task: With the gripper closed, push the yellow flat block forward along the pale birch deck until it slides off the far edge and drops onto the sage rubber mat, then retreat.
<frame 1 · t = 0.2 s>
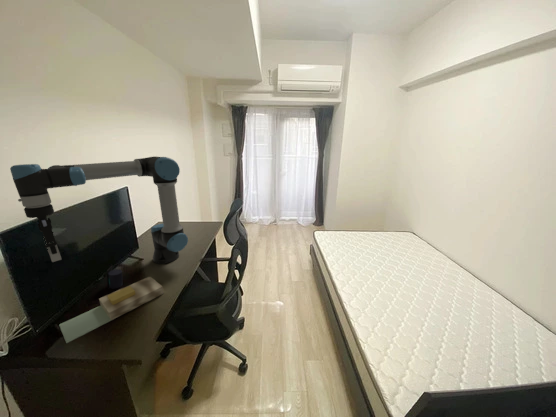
hand: (54, 255, 90), 28 cm above the table, fingers open, 13 cm apart
deck: (133, 299, 105), on the table
yellow flat block: (122, 296, 100), point 4 cm above the table, touching deck
speaker: (117, 285, 115), on the table
mat: (85, 322, 91), on the table
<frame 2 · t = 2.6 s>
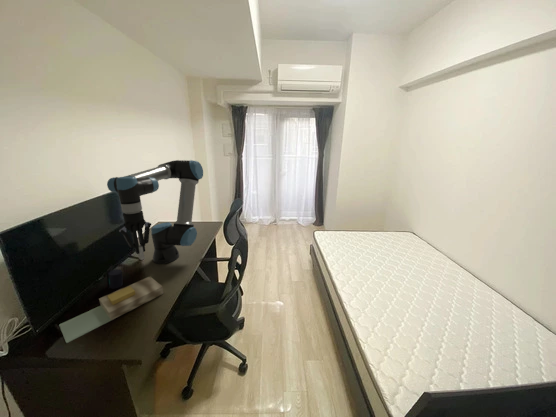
hand: (141, 258, 104), 19 cm above the table, fingers closed
nothing on the table moved.
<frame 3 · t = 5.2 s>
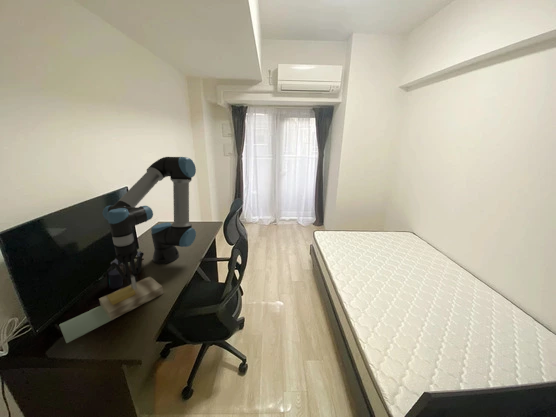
hand: (134, 288, 104), 6 cm above the table, fingers closed
yellow flat block: (122, 296, 100), point 4 cm above the table, touching deck, gripper
everything else where it was.
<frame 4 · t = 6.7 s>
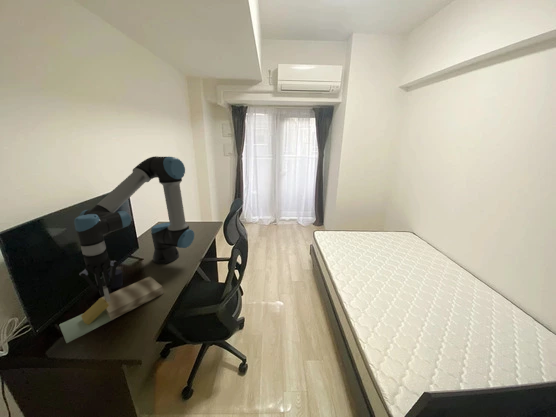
hand: (107, 300, 96), 6 cm above the table, fingers closed
yellow flat block: (97, 311, 94), point 3 cm above the table, tilted 30°, touching gripper
everything else where it was.
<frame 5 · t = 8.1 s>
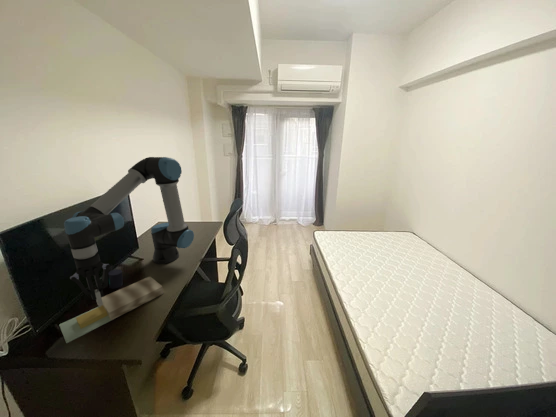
hand: (100, 304, 94), 5 cm above the table, fingers closed
yellow flat block: (92, 318, 93), resting on mat
everything else where it was.
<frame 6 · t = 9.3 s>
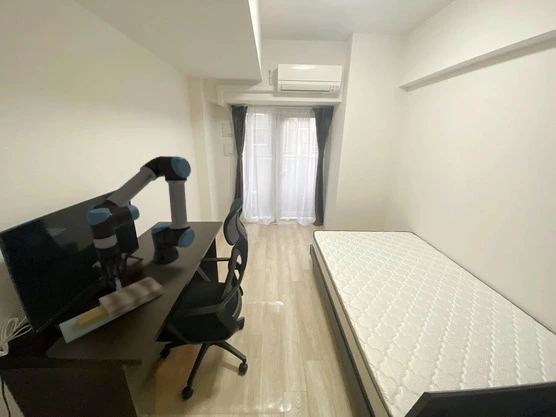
hand: (119, 291, 99), 7 cm above the table, fingers closed
nothing on the table moved.
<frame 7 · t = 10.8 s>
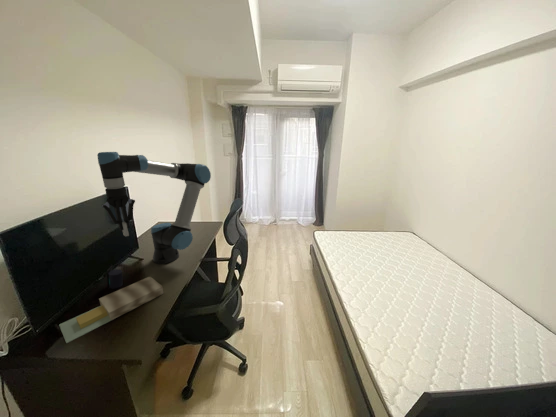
hand: (126, 235, 105), 29 cm above the table, fingers closed
nothing on the table moved.
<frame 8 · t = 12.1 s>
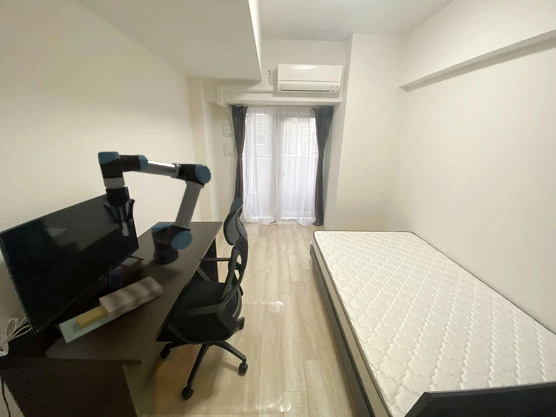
hand: (125, 234, 105), 29 cm above the table, fingers closed
nothing on the table moved.
at the end: yellow flat block resting on mat; yellow flat block inside the target area on the mat (2.5 cm from its centre), point 0.3 cm above the mat's base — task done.
